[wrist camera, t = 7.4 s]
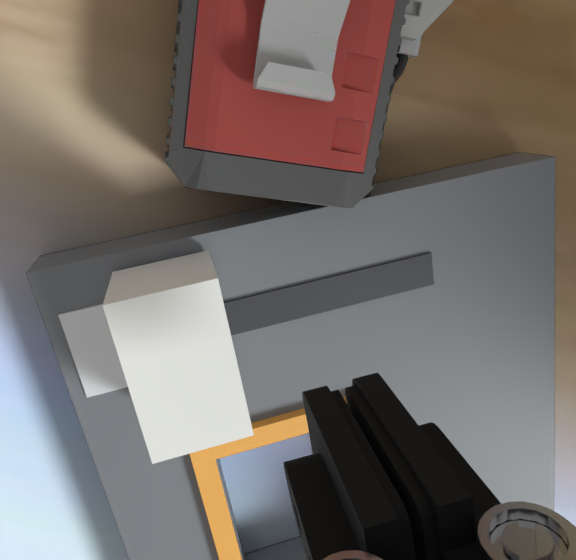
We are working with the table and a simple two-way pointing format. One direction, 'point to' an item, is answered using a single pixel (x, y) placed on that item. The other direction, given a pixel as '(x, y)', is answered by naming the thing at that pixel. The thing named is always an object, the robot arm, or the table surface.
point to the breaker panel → (335, 337)
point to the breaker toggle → (177, 355)
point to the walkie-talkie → (288, 93)
